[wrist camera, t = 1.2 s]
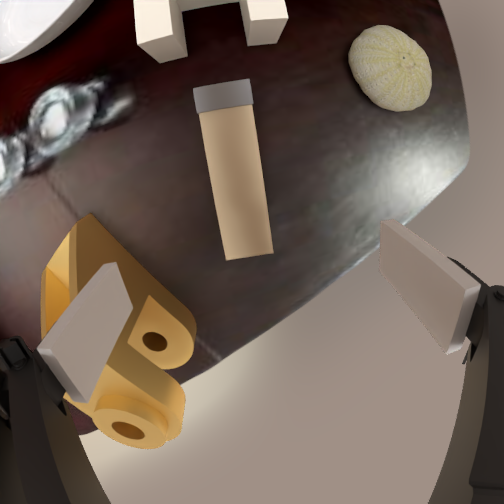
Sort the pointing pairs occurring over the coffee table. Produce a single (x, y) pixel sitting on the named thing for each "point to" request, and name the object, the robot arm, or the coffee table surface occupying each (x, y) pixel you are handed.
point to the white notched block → (173, 3)
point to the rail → (235, 167)
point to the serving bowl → (34, 24)
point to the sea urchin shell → (390, 68)
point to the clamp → (125, 339)
